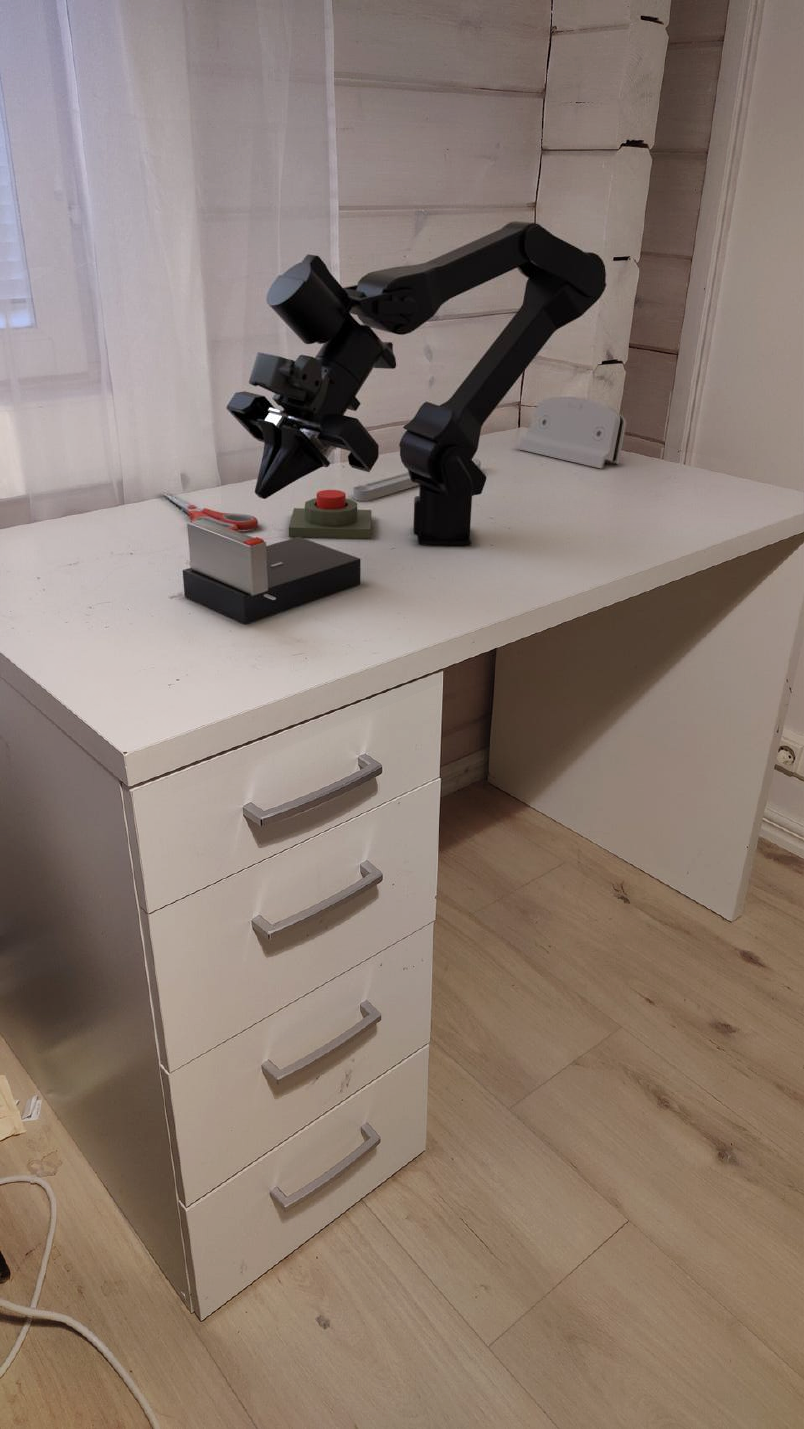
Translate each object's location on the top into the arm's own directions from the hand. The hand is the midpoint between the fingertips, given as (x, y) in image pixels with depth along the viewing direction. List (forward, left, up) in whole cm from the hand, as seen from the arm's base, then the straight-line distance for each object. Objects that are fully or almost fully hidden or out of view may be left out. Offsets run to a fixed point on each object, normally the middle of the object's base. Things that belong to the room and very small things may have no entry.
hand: (259, 496), depth 105 cm
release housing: (-6, -19, -9) cm, 23 cm away
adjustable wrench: (-17, -41, -10) cm, 46 cm away
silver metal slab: (+3, +8, -6) cm, 10 cm away
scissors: (+12, -22, -10) cm, 27 cm away
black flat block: (0, +5, -9) cm, 11 cm away
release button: (-6, -19, -7) cm, 22 cm away
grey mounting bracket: (-43, -59, -10) cm, 74 cm away
